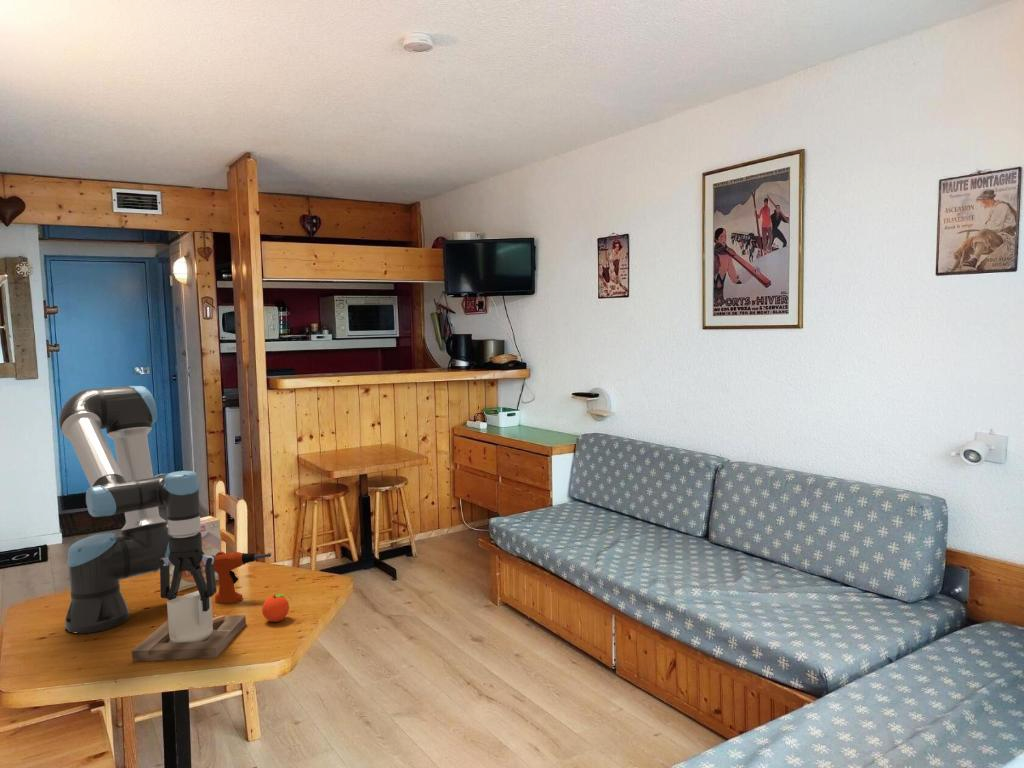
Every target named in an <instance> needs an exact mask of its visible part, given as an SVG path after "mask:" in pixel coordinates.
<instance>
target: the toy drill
mask: <svg viewBox="0 0 1024 768" xmlns="http://www.w3.org/2000/svg"><path fill="white" fill-rule="evenodd" d="M271 556H272V554H271V553H270V552H269V553H264V554H262V553H261V554H256V553H252V552H251V553H249V552H247V553H245V552H240V551H234V552H224V551H221V552H218V553H217V554H216V555H215V561H214V571H215V572H216V573H218V577H219V580H218V582H219V583H218V584H219V585H218V587H219V588H218V592H216V593H215V596H214V602H215V603H217V604H235V602H236V603H239V602H241V601H242V600H243V594H241V593H239V592H237V591H236V590H235V584H236V583H237V582H238V581H239V577H237V576H236V573H235V571H233V570H235V569H237V568H239V567H242V566H245V565H246V564H249V563H254V562H255V561H256V559H257V560H259V559H263V558H269V557H271ZM241 599H242V600H241ZM240 600H241V601H240ZM238 601H239V602H238Z"/></svg>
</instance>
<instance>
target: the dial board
mask: <svg viewBox="0 0 1024 768" xmlns="http://www.w3.org/2000/svg"><path fill="white" fill-rule="evenodd" d="M218 616H219V615H216V616H214V615H212V617H213V618H216V617H218ZM224 616H225V619H223V620H220V621H218V622H215V623H213V625H212V626H213V634H212V635H211V636H210V638H209V639H208V640H207V641H204V642H177V643H170V637H169V625H168V619H167V620H166V621H164V623H162V624H161V625H160V626H159V627H158V628H156V630H154V631H153V632H152V633H150V635H149V636H148V637H146V638H145V639H144V640H143V641H141V642H140V643H139V644H138V645H137V646H136V647H134V648H133V649H132V650H131V659H132V662H144V661H145V662H146V661H147V662H148V661H149V662H150V661H152V662H153V661H173V660H177V659H179V660H197V659H198V660H201V659H203V660H204V659H217V658H218V657H219V656H220V655H221V653H222V652H223V651H224V650H225V649H226V648H227V647H228V646H229V644H230V643H232V641H233V640H234V638H235V637H236V636H237V635H238V634H239V633H240V631H242V629H243V628H244V627H245V626H246V624H247V621H246V618H247V617H246V615H245V614H244V615H243V614H241V615H224Z"/></svg>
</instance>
